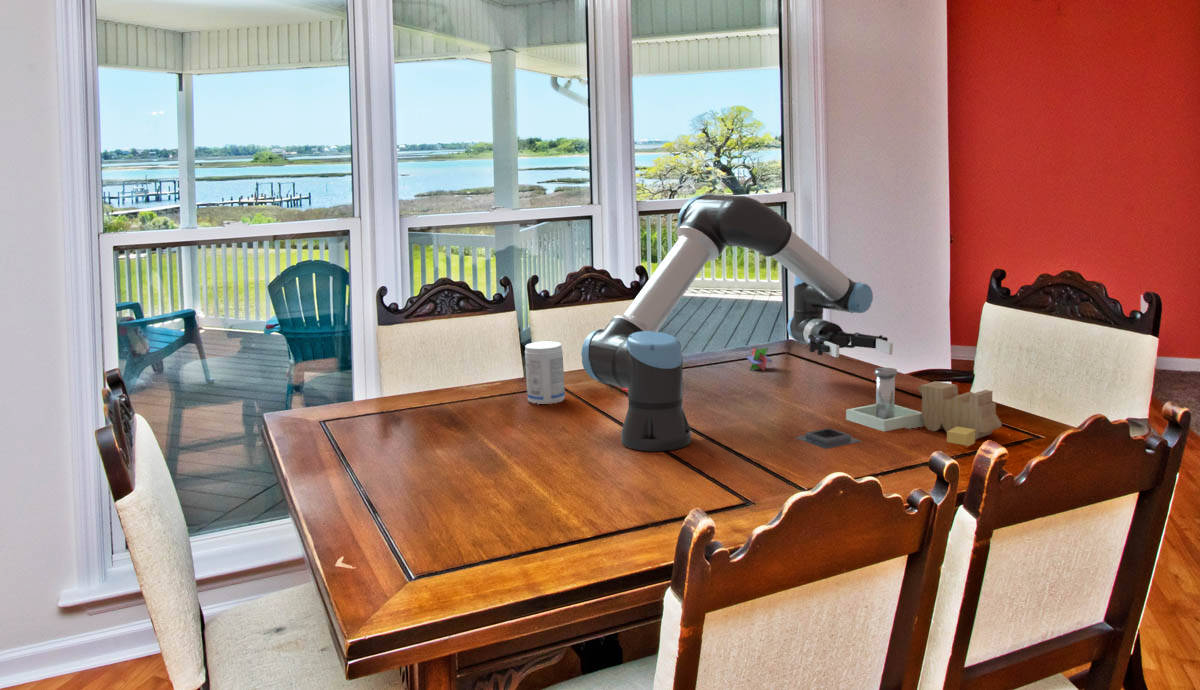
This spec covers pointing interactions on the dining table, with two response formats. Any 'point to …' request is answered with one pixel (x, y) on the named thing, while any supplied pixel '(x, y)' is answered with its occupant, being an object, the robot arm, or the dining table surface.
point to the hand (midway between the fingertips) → (864, 350)
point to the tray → (900, 420)
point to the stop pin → (885, 392)
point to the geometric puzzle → (758, 358)
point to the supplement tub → (544, 372)
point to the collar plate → (828, 438)
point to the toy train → (958, 409)
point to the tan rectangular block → (961, 436)
